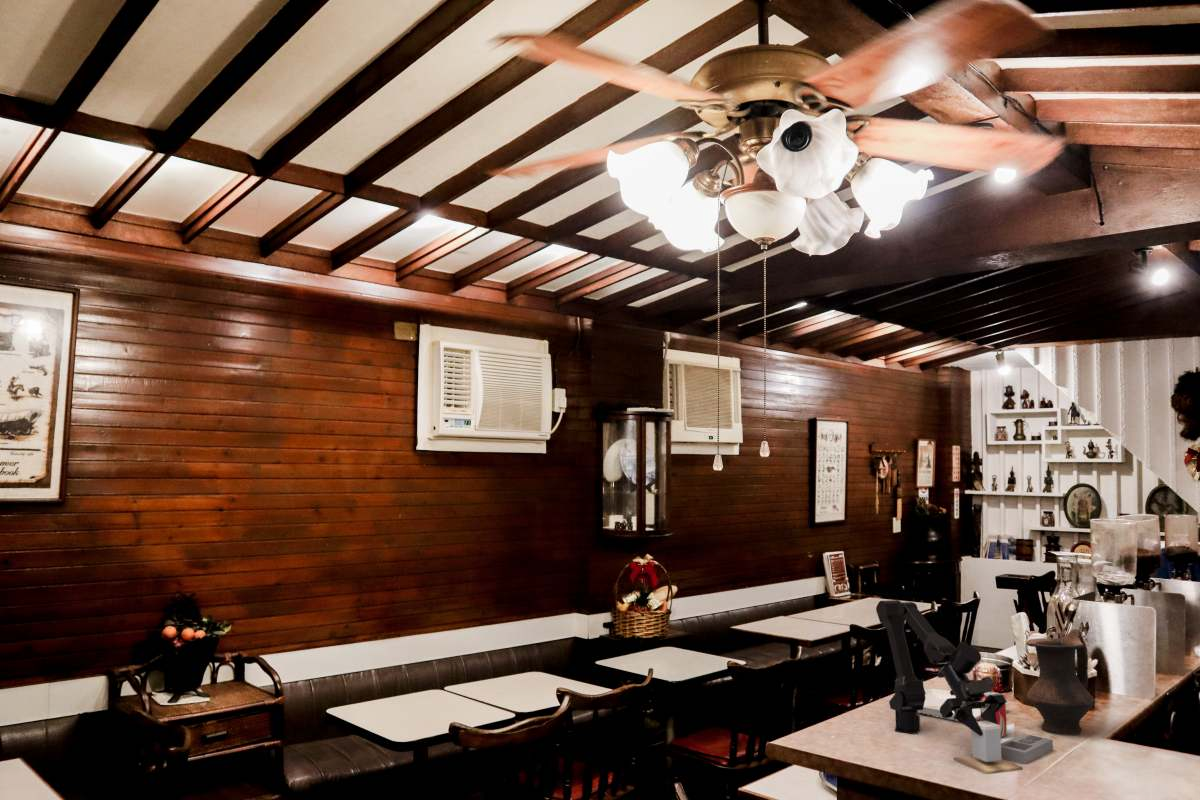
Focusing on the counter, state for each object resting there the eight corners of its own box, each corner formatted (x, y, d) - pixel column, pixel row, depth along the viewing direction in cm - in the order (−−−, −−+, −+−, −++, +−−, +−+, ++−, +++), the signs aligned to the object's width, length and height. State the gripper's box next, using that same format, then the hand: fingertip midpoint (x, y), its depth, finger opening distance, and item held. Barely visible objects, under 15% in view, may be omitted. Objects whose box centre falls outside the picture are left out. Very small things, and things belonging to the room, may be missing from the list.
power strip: (1025, 764, 230) (1024, 751, 230) (995, 756, 236) (995, 745, 236) (1052, 750, 241) (1052, 739, 242) (1024, 744, 247) (1023, 732, 248)
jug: (1068, 743, 248) (1062, 638, 251) (1014, 726, 265) (1010, 628, 268) (1116, 734, 257) (1110, 633, 260) (1061, 719, 274) (1056, 624, 276)
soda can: (1009, 739, 252) (1008, 697, 253) (984, 737, 254) (982, 696, 255) (1003, 732, 259) (1001, 691, 260) (978, 730, 260) (977, 690, 262)
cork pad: (985, 774, 222) (985, 771, 222) (953, 759, 233) (953, 757, 233) (1022, 769, 225) (1022, 767, 226) (989, 755, 237) (989, 753, 237)
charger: (986, 761, 226) (984, 727, 227) (972, 756, 231) (971, 722, 232) (1001, 760, 228) (1000, 725, 229) (987, 754, 233) (986, 720, 234)
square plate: (931, 697, 302) (930, 686, 303) (1010, 713, 282) (1009, 701, 282) (892, 711, 284) (892, 699, 284) (974, 729, 264) (974, 716, 264)
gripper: (945, 668, 233) (975, 721, 221) (1000, 664, 238) (1033, 715, 227) (926, 691, 239) (955, 743, 228) (981, 686, 245) (1011, 737, 234)
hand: (989, 734), depth 229 cm, fingers closed on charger, 5 cm apart
